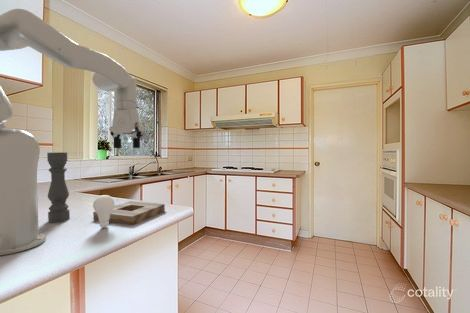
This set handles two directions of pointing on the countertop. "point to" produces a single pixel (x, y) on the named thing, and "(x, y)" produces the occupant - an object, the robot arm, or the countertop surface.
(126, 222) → the socket block
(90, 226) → the countertop surface
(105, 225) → the lightbulb
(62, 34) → the robot arm
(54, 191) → the candle holder
